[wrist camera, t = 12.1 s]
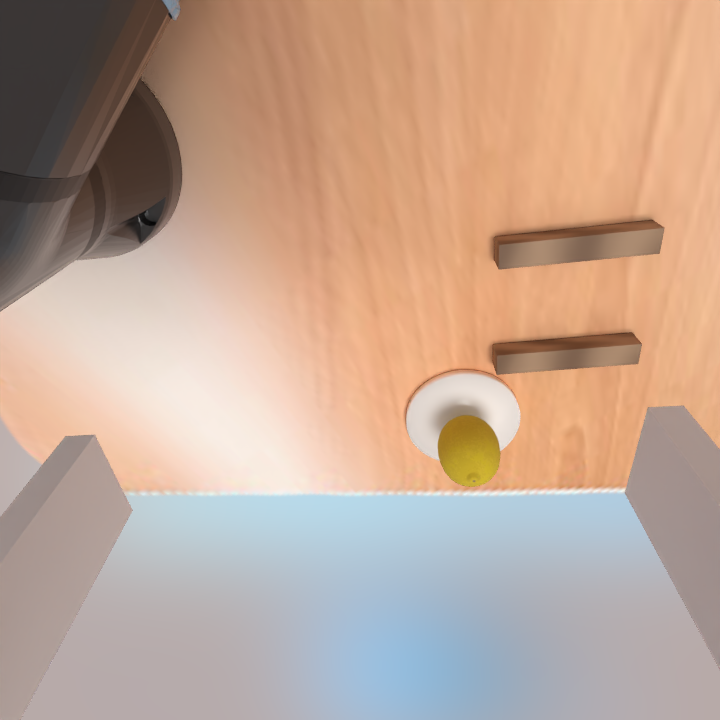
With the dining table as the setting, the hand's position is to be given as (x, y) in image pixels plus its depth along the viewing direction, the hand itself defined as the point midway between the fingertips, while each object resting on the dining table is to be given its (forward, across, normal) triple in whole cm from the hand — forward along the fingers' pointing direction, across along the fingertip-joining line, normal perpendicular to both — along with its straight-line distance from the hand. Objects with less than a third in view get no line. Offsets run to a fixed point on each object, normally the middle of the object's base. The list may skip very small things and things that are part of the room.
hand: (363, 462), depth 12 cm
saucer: (+30, +7, -23) cm, 39 cm away
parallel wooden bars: (+30, +15, -11) cm, 36 cm away
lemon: (+29, +7, -23) cm, 38 cm away
